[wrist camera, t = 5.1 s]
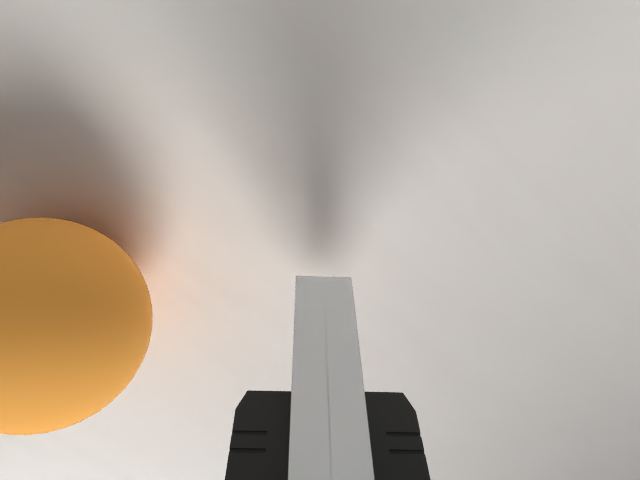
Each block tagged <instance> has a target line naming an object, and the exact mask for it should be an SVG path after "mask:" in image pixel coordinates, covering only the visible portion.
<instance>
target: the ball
mask: <svg viewBox="0 0 640 480" xmlns="http://www.w3.org/2000/svg"><path fill="white" fill-rule="evenodd" d="M151 331H152V305H151V300H150V295H149V291H148V288H147V285H146V283H145V280H144V278H143V276H142V274H141V272H140V270H139V269H138V267H137V265H136V264H135V263H134V261H133V260H132V259H131V257H130V256H129V255H128V254H127V253H126V252H125V251H124V250H123V249H122V248H121V247H120V246H119V245H118V244H117V243H115V242H114V241H112V240H111V239H110V238H108V237H107V236H105V235H103V234H102V233H100V232H98V231H96V230H94V229H92V228H90V227H87V226H85V225H82V224H79V223H76V222H72V221H68V220H63V219H55V218H45V217H42V218H22V219H16V220H10V221H6V222H2V223H0V433H1V434H7V435H32V434H39V433H47V432H51V431H55V430H59V429H62V428H65V427H69V426H71V425H73V424H76V423H78V422H81V421H83V420H84V419H86V418H88V417H90V416H91V415H93V414H95V413H96V412H98V411H100V410H101V409H102V408H104V407H105V406H106V405H108V404H109V403H110V402H112V401H113V400H114V399H115V398H116V397H117V396H118V395H119V394H120V393H121V392H122V391H123V390H124V389H125V388H126V386H127V385H128V384H129V382H130V381H131V380H132V378H133V377H134V375H135V374H136V372H137V370H138V368H139V367H140V365H141V363H142V361H143V359H144V356H145V354H146V351H147V348H148V345H149V341H150V336H151Z"/></svg>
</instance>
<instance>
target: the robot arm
mask: <svg viewBox="0 0 640 480" xmlns="http://www.w3.org/2000/svg"><path fill="white" fill-rule="evenodd" d="M225 480H430V476H429V471H428V466H427V462H426V457H425V454H424V448H423V443H422V438H421V437H420V429H419V424H418V420H417V415H416V411H415V410H414V408H413V407H412V405H411V404H410V402H409V401H408V399H407V398H406V397H405V395H404V394H403V393H395V392H364V384H363V375H362V366H361V357H360V349H359V340H358V331H357V322H356V314H355V305H354V296H353V287H352V279H351V278H350V277H317V276H296V290H295V315H294V340H293V366H292V391H291V392H290V391H247V392H246V394H245V395H244V397H243V399H242V400H241V402H240V403H239V405H238V406H237V408H236V410H235V417H234V423H233V430H232V436H231V443H230V452H229V456H228V463H227V469H226V476H225Z"/></svg>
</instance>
